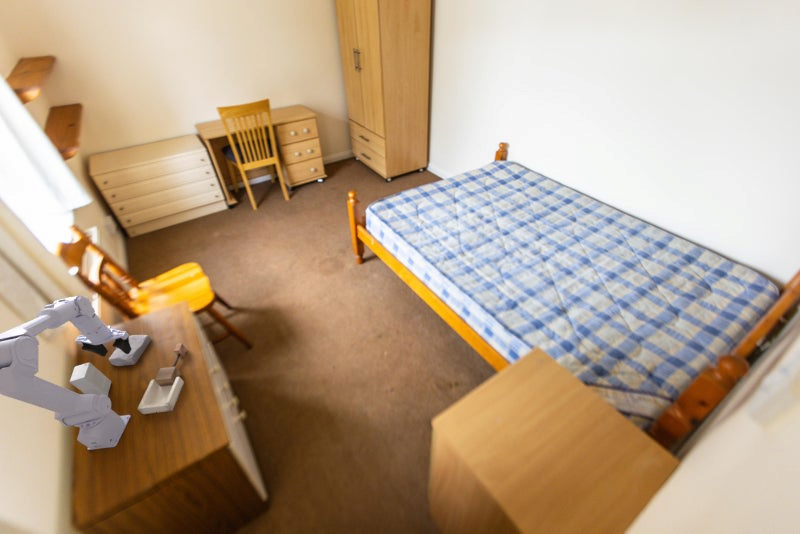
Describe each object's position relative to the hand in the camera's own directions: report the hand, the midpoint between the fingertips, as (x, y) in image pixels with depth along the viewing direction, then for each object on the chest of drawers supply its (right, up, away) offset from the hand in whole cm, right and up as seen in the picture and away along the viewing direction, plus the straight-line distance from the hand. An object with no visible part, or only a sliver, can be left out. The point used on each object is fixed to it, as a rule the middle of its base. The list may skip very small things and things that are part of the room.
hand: (117, 352), depth 116 cm
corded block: (+16, -6, +6) cm, 18 cm away
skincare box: (-5, -13, 0) cm, 14 cm away
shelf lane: (+18, -14, -2) cm, 22 cm away
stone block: (-4, -3, +12) cm, 13 cm away
